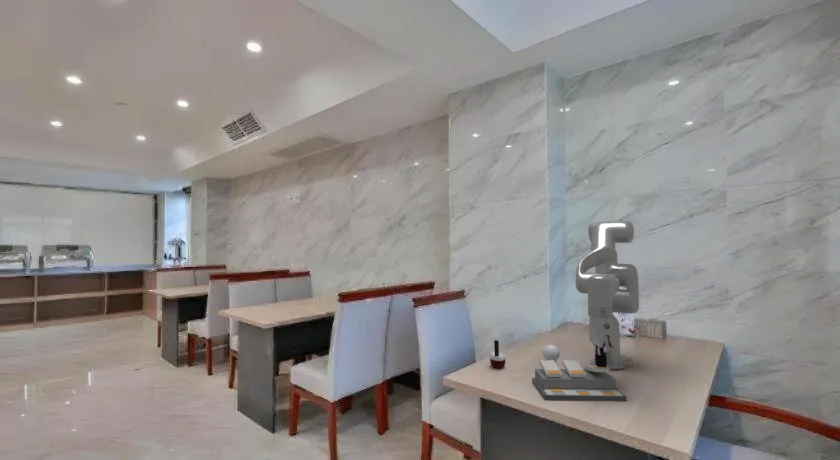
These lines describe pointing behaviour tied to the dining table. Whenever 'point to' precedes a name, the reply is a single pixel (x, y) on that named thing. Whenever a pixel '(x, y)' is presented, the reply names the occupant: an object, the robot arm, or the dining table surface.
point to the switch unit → (578, 387)
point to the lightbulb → (551, 352)
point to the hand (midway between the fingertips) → (601, 366)
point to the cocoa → (497, 357)
